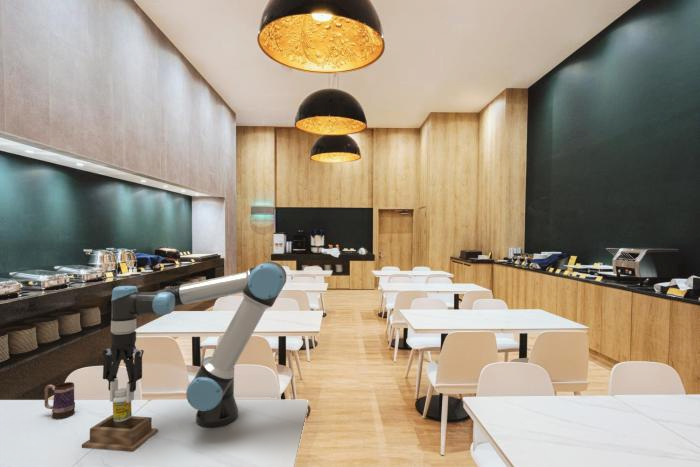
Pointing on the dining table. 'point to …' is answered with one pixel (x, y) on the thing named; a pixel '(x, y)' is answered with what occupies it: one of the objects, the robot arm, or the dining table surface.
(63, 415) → the mug
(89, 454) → the dining table surface
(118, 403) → the supplement bottle
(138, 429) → the walnut caddy
